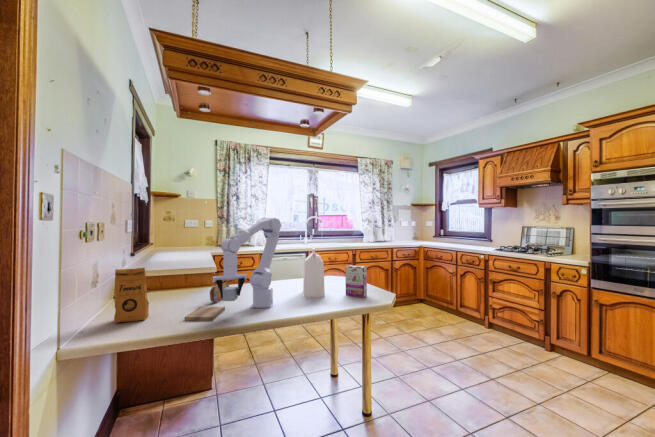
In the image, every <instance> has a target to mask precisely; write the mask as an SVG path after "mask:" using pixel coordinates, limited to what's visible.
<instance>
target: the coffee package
mask: <svg viewBox="0 0 655 437" xmlns="http://www.w3.org/2000/svg"><path fill="white" fill-rule="evenodd" d="M114 271H115V273H114V274H115V276H114V288H113V292H114V309H115V313H114V317H113V322H114V323H126V322H127V323H128V322H137V321H139V322H140V321H145V320H146V319H147V318H148V317H149V316H150V315H149V312H150V311H149V309H150V308H149V302H150V301H149V300H148V294H147V293H148V291H147V288H148V286H147V278H146V277H147V276H146V273H147V272H146V268H145V267H138V268H137V267H136V268H120V269H119V268H118V269H115V270H114Z"/></svg>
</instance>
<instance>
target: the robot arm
mask: <svg viewBox="0 0 655 437" xmlns="http://www.w3.org/2000/svg"><path fill="white" fill-rule="evenodd" d="M281 227H282V223H281V220H280V218H278V217H262V218H261V219H258V220H257V221H256V222H255V223H253V224H252V225H251V226H250V227H248V228H247V229H246V230H245V229H239V230H238V231H237V233H235V234H234V235H231V236H230V237H229V238H225V239H224V240H223V241H222V242H221V244H220V249H221V251H222V254H223V275H216V276H215V275H214V276H212V283H214V282H215V284H216V285H218V288H219V290H220V294H221V298H223V291H222V287H223V283H224V282H223V281H233V280H234V281H235V280H237V287H238V297H240V296H241V291H242V288H243V285H244V284H245V282H246V281H245V280H247V279H248V273H243V274H242V273H238V251H239V250H240V248H241V246H243V245H244V244H246V243H247V242H249V241H250V240H251V236H253V235H255V234H256V233H259V232H260V231H263V233H264V235H266V237H267V239H266V242H265V244H264V245H265V246H264V248H263V250H262V255H261V258H260V260H259V263H258V266H257V267H256V268H255V269H254V270H253V271H252V274H251V275H250V277H249V284H250V285H251V286H252V304H251V305H250V309H256V308H257V309H258V308H260V309H262V308H263V309H264V308H265V309H266V308H267V309H268V308H270V309H271V307H272V305H273V303H274V301H273V299H274V298H273V297H274V294H273V293H274V292H273V291H274V290H273V289H274V288H273V287H270V285H271V284H272V275H273V274H272V271H271V270H270V269H271V266H272V265H271V264H272V262H273V258H274V255H275V252H276V248H277V245H278V243H279V238H280V230H281Z"/></svg>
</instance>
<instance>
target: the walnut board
mask: <svg viewBox="0 0 655 437" xmlns="http://www.w3.org/2000/svg"><path fill="white" fill-rule="evenodd" d="M225 310H226V306H199V307H197V308H195V309H194V310H193V311H191V312H190V313H189V314H187V315H186V316H184V321H188V322H189V321H190V322H191V321H193V322H195V321H196V322H197V321H198V322H199V321H201V322H202V321H204V322H205V321H206V322H207V321H209V322H210V321H211V322H212V321H214V320H215V319H217V318H218V317H219V316H221V314H223V313H224V312H225Z"/></svg>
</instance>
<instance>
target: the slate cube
mask: <svg viewBox="0 0 655 437" xmlns="http://www.w3.org/2000/svg"><path fill="white" fill-rule="evenodd" d="M238 298H239V296H238V286H229V287H226V288H225V289H223V300H222V301H223V302H235V301H236V300H238Z"/></svg>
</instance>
